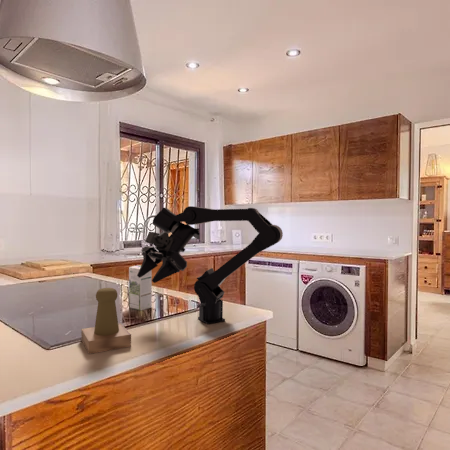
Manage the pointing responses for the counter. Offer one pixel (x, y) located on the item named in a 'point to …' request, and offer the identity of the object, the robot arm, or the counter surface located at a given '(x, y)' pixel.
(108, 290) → the olive pepper mill
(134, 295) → the syrup box
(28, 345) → the counter surface
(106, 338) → the plinth
